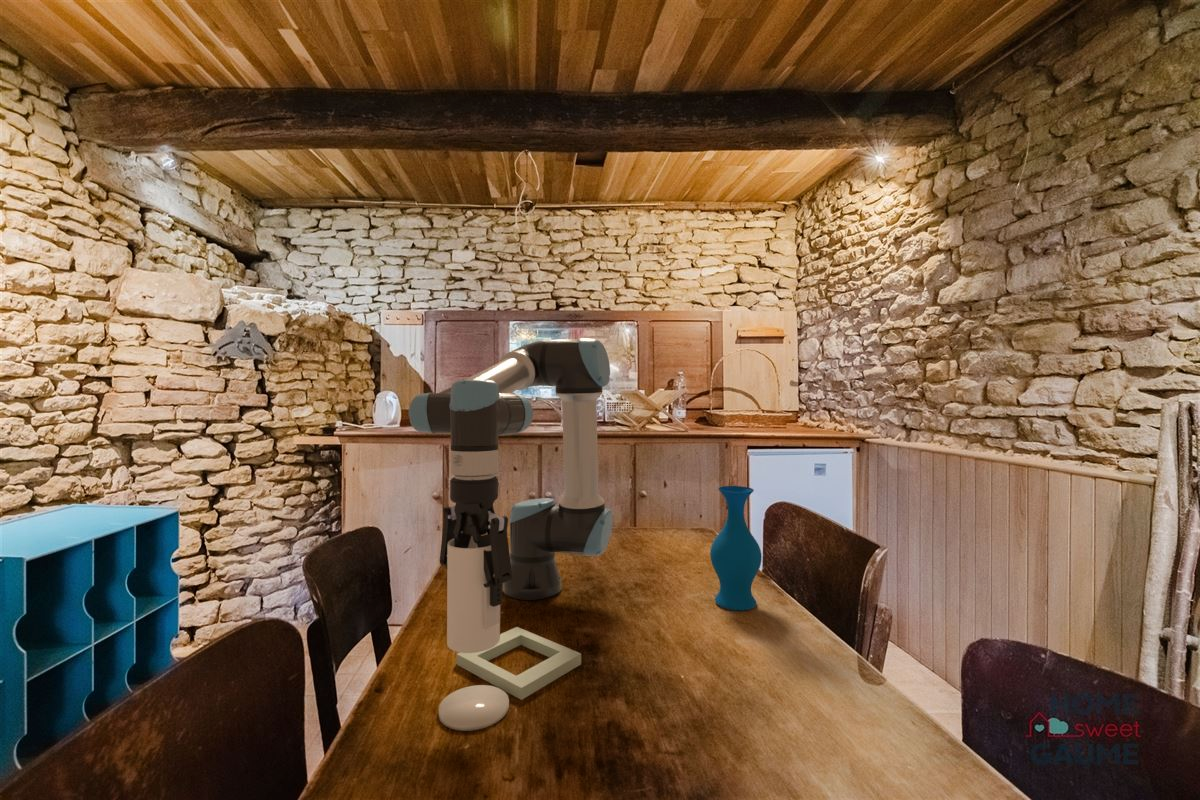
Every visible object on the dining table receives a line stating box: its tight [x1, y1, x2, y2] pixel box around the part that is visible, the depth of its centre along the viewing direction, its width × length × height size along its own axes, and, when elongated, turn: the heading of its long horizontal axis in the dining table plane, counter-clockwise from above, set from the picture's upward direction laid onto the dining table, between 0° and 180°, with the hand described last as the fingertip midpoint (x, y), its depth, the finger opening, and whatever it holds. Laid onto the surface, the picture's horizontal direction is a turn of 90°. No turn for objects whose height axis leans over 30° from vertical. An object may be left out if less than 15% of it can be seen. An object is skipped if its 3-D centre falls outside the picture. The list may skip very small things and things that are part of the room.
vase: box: [709, 485, 763, 612], centre depth 127 cm, size 12×13×28 cm
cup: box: [446, 535, 501, 653], centre depth 84 cm, size 8×8×16 cm
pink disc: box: [438, 684, 510, 732], centre depth 84 cm, size 11×11×1 cm
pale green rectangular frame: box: [455, 626, 582, 701], centre depth 98 cm, size 18×15×2 cm
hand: (473, 617), depth 84 cm, fingers closed on cup, 8 cm apart
